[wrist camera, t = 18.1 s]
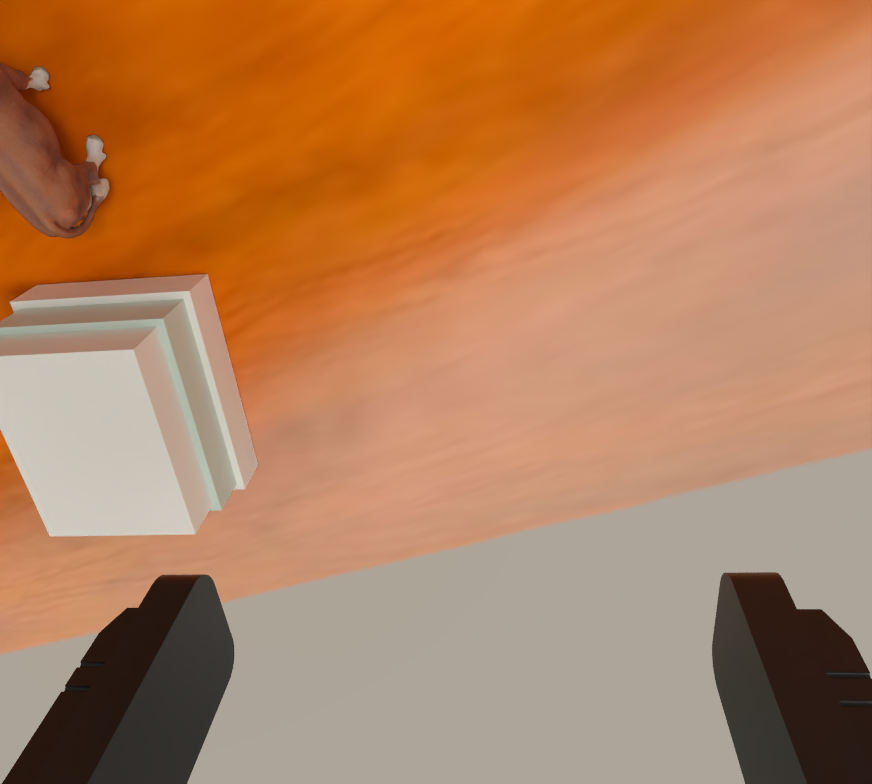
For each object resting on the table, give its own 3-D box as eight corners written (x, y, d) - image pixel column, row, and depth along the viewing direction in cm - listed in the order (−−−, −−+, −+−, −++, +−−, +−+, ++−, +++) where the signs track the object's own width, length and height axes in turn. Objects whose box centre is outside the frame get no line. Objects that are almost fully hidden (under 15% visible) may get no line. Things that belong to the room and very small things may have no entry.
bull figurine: (-1, -30, 38) (-116, -35, 31) (145, 199, 44) (75, 239, 37) (-58, 8, 40) (-182, 12, 33) (91, 226, 45) (13, 270, 38)
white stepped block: (37, 284, 48) (-57, 342, 40) (207, 273, 46) (145, 331, 38) (108, 468, 55) (41, 548, 47) (258, 464, 53) (214, 546, 45)
